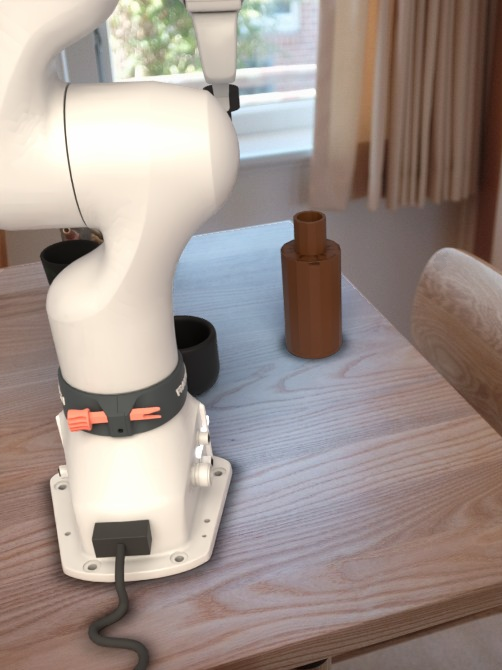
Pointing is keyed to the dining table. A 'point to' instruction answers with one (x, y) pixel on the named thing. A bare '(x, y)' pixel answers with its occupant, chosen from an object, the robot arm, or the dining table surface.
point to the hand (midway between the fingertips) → (221, 103)
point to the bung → (233, 97)
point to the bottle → (312, 289)
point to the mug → (197, 351)
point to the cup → (64, 255)
